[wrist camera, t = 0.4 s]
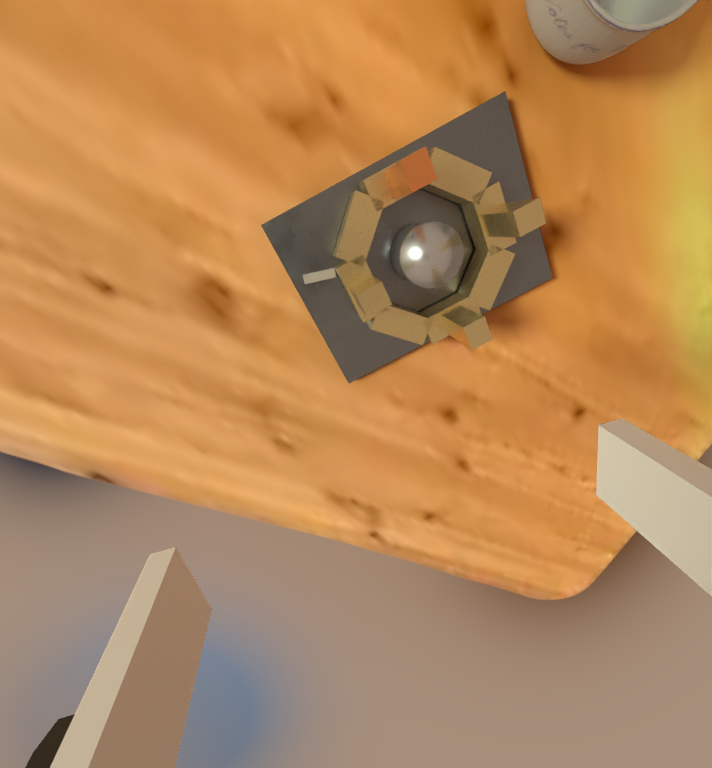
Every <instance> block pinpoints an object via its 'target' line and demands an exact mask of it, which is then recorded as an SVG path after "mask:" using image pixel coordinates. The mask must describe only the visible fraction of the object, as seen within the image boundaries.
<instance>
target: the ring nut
mask: <svg viewBox="0 0 712 768" xmlns="http://www.w3.org/2000/svg"><path fill="white" fill-rule="evenodd" d="M491 174H492V172H490V171H487V170H485V169H483V168H481V167H479V166H476V165H474V164H472V163H470V162H468V161H465V160H463V159H461V158H459V157H457V156H454V155H452V154H450V153H448V152H446V151H443V150H441V149H439V148H437V147H434V148H432V149H431V150H429V151H427V148H426V146H425V147H423V148H421V149H419V150H417V151H416V152H414V153H412V154H410V155H408V156H406V157H405V158H403V159H401V160H399V161H397V162H395V163H394V164H392V165H390V166H388V167H386V168H384V169H383V170H381V171H379V172H377V173H375V174H374V175H372V176H370V177H368V178H366V179H364V180H363V181H362V182H360V183H359V184H358V185H359V187H360V189H361V192H362V193H361V192H359V191H356V190H355V191H354V192H352V193H351V196H350V199H349V202H348V206H347V209H346V212H345V216H344V219H343V223H342V226H341V229H340V233H339V236H338V239H337V243H336V246H335V250H334V253H333V256H335V257H337V258H340V259H343V260H344V261H342V262H341V263H339V264H337V265H335V266H334V268H335V270H336V272H337V274H338V276H339V278H340V280H341V282H342V284H343V286H344V288H345V290H346V292H347V294H348V296H349V298H350V300H351V302H352V304H353V306H354V308H355V310H356V312H357V314H358V316H359V318H360V319H361V320H362V322H363V323H364V322H366V321H367V322H366V324H367V325H368V326H369V328H370V329H371V330H374V331H378V332H381V333H384V334H387V335H391V336H394V337H397V338H401V339H404V340H407V341H410V342H414V343H417V344H420V345H423V344H424V341H425V339H427V340H428V341H429V342H430V343H432V344H434V343H436V342H438V341H440V340H442V339H444V338H446V337H447V336H449V335H450V336H451V337H453V338H454V339H456V340H457V341H459V342H460V343H462V344H463V345H465V346H466V347H468V348H469V349H471V350H473V349H475V348H477V347H479V346H480V345H482V344H484V343H486V342H488V341H490V340H492V336H491V333H490V330H489V327H488V324H487V321H486V318H485V316H483V315H482V314H481V311H480V309H479V307H481V308H484V309H487V310H491V307H492V305H493V303H494V301H495V298H496V296H497V294H498V292H499V289H500V287H501V285H502V283H503V281H504V278H505V276H506V274H507V272H508V269H509V267H510V265H511V263H512V260H513V258H514V256H515V253H512V252H510V251H507V250H505V248H507V247H509V246H511V245H513V244H515V243H517V242H516V239H515V237H521V236H523V235H525V234H527V233H529V232H531V231H533V230H535V229H537V228H538V227H540V226H542V225H544V224H546V220H545V216H544V212H543V208H542V204H541V200H540V197H539V198H533V199H526V200H519V201H513V202H506V203H505V200H504V196H503V193H502V189H501V186H500V182H495V183H491V184H488V182H489V179H490V177H491ZM420 188H422V189H424V190H426V191H429V192H431V193H434V194H436V195H438V196H441V197H443V198H446V199H448V200H450V201H453V202H455V203H458V204H460V205H461V206H462V210H463V213H464V216H465V219H466V222H467V225H468V228H469V231H470V234H471V237H472V240H473V243H474V246H475V249H476V250H475V252H474V254H473V257H472V259H471V262H470V264H469V267H468V269H467V271H466V274H465V276H464V279H463V281H462V283H461V286H460V288H459V291H458V293H456V294H454V295H452V296H450V297H448V298H446V299H444V300H442V301H441V302H439V303H437V304H435V305H433V306H431V307H429V308H427V309H425V310H423V311H421V312H416V311H413V310H410V309H407V308H404V307H401V306H398V305H395V304H392V303H391V301H390V298H389V296H388V294H387V292H386V289H385V287H384V285H383V283H382V281H381V280H379V279H377V278H375V277H374V276H373V275H372V273H371V271H370V269H369V266H368V264H367V262H366V258H367V255H368V252H369V249H370V246H371V243H372V240H373V237H374V233H375V230H376V227H377V224H378V221H379V218H380V215H381V212H382V209H383V208H385V207H387V206H389V205H390V204H392V203H394V202H396V201H398V200H400V199H402V198H403V197H405V196H407V195H409V194H411V193H413V192H415V191H416V190H418V189H420Z"/></svg>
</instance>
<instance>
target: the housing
mask: <svg viewBox="0 0 712 768" xmlns="http://www.w3.org/2000/svg"><path fill="white" fill-rule="evenodd" d="M425 146H426V148H427V151H429V150H431V149H432V148H434V147H437V148H439V149H441V150H443V151H446V152H448V153H450V154H452V155H454V156H457V157H459V158H461V159H463V160H465V161H468V162H470V163H472V164H474V165H476V166H479V167H481V168H483V169H485V170H487V171H490V172H492V174H491V177H490V179H489V182H488V184H491V183H495V182H500V186H501V189H502V193H503V196H504V200H505V203H506V202H513V201H519V200H526V199H532V195H531V191H530V187H529V183H528V179H527V175H526V171H525V167H524V163H523V159H522V155H521V152H520V148H519V144H518V140H517V136H516V132H515V128H514V124H513V120H512V116H511V112H510V108H509V104H508V100H507V96H506V92H503V93H501V94H499V95H498V96H496V97H494V98H492V99H490V100H488V101H487V102H485V103H483V104H481V105H479V106H477V107H476V108H474V109H472V110H470V111H468V112H467V113H465V114H463V115H461V116H459V117H457V118H456V119H454V120H452V121H450V122H448V123H447V124H445V125H443V126H441V127H439V128H437V129H436V130H434V131H432V132H430V133H428V134H426V135H425V136H423V137H421V138H419V139H417V140H416V141H414V142H412V143H410V144H408V145H406V146H405V147H403V148H401V149H399V150H397V151H396V152H394V153H392V154H390V155H388V156H386V157H385V158H383V159H381V160H379V161H377V162H375V163H374V164H372V165H370V166H368V167H366V168H365V169H363V170H361V171H359V172H357V173H355V174H354V175H352V176H350V177H348V178H346V179H344V180H343V181H341V182H339V183H337V184H335V185H334V186H332V187H330V188H328V189H326V190H324V191H323V192H321V193H319V194H317V195H315V196H314V197H312V198H310V199H308V200H306V201H304V202H303V203H301V204H299V205H297V206H295V207H293V208H292V209H290V210H288V211H286V212H284V213H283V214H281V215H279V216H277V217H275V218H273V219H272V220H270V221H268V222H266V223H264V224H263V225H261V226H262V228H263V229H264V231H265V233H266V235H267V237H268V238H269V240H270V242H271V244H272V246H273V247H274V249H275V251H276V253H277V255H278V256H279V258H280V260H281V262H282V264H283V266H284V267H285V269H286V271H287V273H288V275H289V276H290V278H291V280H292V282H293V284H294V285H295V287H296V289H297V291H298V293H299V294H300V296H301V298H302V300H303V302H304V303H305V305H306V307H307V309H308V311H309V312H310V314H311V316H312V318H313V320H314V322H315V323H316V325H317V327H318V329H319V331H320V332H321V334H322V336H323V338H324V340H325V341H326V343H327V345H328V347H329V349H330V350H331V352H332V354H333V356H334V358H335V359H336V361H337V363H338V365H339V367H340V369H341V370H342V372H343V374H344V376H345V378H346V379H347V381H348V383H351V382H352V381H354V380H356V379H358V378H360V377H362V376H364V375H366V374H368V373H370V372H372V371H374V370H376V369H378V368H379V367H381V366H383V365H385V364H387V363H389V362H391V361H393V360H395V359H397V358H399V357H401V356H403V355H405V354H406V353H408V352H410V351H412V350H414V349H416V348H418V347H420V346H422V345H420V344H417V343H414V342H410V341H407V340H404V339H401V338H397V337H394V336H391V335H387V334H384V333H381V332H378V331H374V330H371V329H370V328H369V326H368V325H367V324H366V322H367V321H366V322H364V323H363V322H362V320H361V319H360V318H359V316H358V314H357V312H356V310H355V308H354V306H353V304H352V302H351V300H350V298H349V296H348V294H347V292H346V290H345V288H344V286H343V284H342V282H341V280H340V278H339V276H338V274H337V272H336V270H335V268H334V266H335V265H337V264H339V263H341V262H342V261H344V260H343V259H340V258H337V257H335V256H333V253H334V250H335V246H336V243H337V239H338V236H339V233H340V229H341V226H342V223H343V219H344V216H345V212H346V209H347V206H348V202H349V199H350V196H351V193H352V192H354V191H355V190H356V191H359V192H361V189H360V187H359V185H358V184H359V183H360V182H362V181H363V180H364V179H366V178H368V177H370V176H372V175H374V174H375V173H377V172H379V171H381V170H383V169H384V168H386V167H388V166H390V165H392V164H394V163H395V162H397V161H399V160H401V159H403V158H405V157H406V156H408V155H410V154H412V153H414V152H416V151H417V150H419V149H421V148H423V147H425ZM361 193H362V192H361ZM515 239H516V242H517V243H515V244H513V245H511V246H509V247H507V248H505V250H507V251H510V252H512V253H515V256H514V258H513V260H512V263H511V265H510V267H509V269H508V272H507V274H506V276H505V278H504V281H503V283H502V285H501V287H500V289H499V292H498V294H497V296H496V298H495V301H494V303H493V305H492V307H491V309H493V308H495V307H497V306H499V305H501V304H503V303H505V302H507V301H509V300H511V299H513V298H515V297H517V296H518V295H520V294H522V293H524V292H526V291H528V290H530V289H532V288H534V287H536V286H538V285H540V284H542V283H544V282H546V281H547V280H549V279H551V278H552V274H551V270H550V266H549V262H548V258H547V254H546V250H545V246H544V242H543V239H542V235H541V231H540V227H538V228H537V229H535V230H533V231H531V232H529V233H527V234H525V235H523V236H521V237H515ZM475 250H476V249H475V246H474V243H473V240H472V237H471V234H470V231H469V228H468V225H467V222H466V219H465V216H464V213H463V210H462V206H461V205H460V204H458V203H455V202H453V201H450V200H448V199H446V198H443V197H441V196H438V195H436V194H434V193H431V192H429V191H426V190H424V189H422V188H420V189H418V190H416V191H415V192H413V193H411V194H409V195H407V196H405V197H403V198H402V199H400V200H398V201H396V202H394V203H392V204H390V205H389V206H387V207H385V208H383V209H382V212H381V215H380V218H379V221H378V224H377V227H376V230H375V233H374V237H373V240H372V243H371V246H370V249H369V252H368V255H367V258H366V262H367V264H368V266H369V269H370V271H371V273H372V275H373V276H374V277H375V278H377V279H379V280H381V281H382V283H383V285H384V287H385V289H386V292H387V294H388V296H389V298H390V301H391V303H392V304H395V305H398V306H401V307H404V308H407V309H410V310H413V311H416V312H421V311H423V310H425V309H427V308H429V307H431V306H433V305H435V304H437V303H439V302H441V301H442V300H444V299H446V298H448V297H450V296H452V295H454V294H456V293H458V291H459V288H460V286H461V283H462V281H463V279H464V276H465V274H466V271H467V269H468V267H469V264H470V262H471V259H472V257H473V254H474V252H475ZM479 309H480V311H481V314H484V313H486V312H488V311H490V310H487V309H484V308H481V307H479ZM428 342H429V341H428V340H427V339H425V341H424V344H426V343H428ZM424 344H423V345H424Z"/></svg>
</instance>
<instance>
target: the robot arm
mask: <svg viewBox="0 0 712 768" xmlns="http://www.w3.org/2000/svg"><path fill="white" fill-rule="evenodd" d="M596 495H597V496H598V497H599V498H600V499H601V500H603V501H604V502H605V503H606V504H607V505H608V506H609V507H611V508H612V509H613V510H614V511H615V512H616V513H617V514H618V515H620V516H621V517H622V518H623V519H624V520H625V521H626V522H628V523H629V524H630V525H631V526H632V527H633V528H634V529H636V530H637V531H638V532H639V533H640V534H641V535H643V536H644V537H645V538H646V539H647V540H648V541H649V542H650V543H652V544H653V545H654V546H655V547H656V548H657V549H659V550H660V551H661V552H662V553H663V554H664V555H665V556H666V557H668V558H669V559H670V560H671V561H672V562H673V563H674V564H675V565H677V566H678V567H679V568H680V569H681V570H682V571H683V572H685V573H686V574H687V575H688V576H689V577H690V578H691V579H693V580H694V581H695V582H696V583H697V584H698V585H699V586H701V587H702V588H703V589H704V590H705V591H706V592H707V593H708V594H710V595H711V596H712V469H710V468H708V467H706V466H705V465H703V464H701V463H699V462H698V461H696V460H694V459H692V458H691V457H689V456H687V455H685V454H684V453H682V452H680V451H678V450H677V449H675V448H673V447H671V446H670V445H668V444H666V443H664V442H663V441H661V440H659V439H657V438H656V437H654V436H652V435H650V434H649V433H647V432H645V431H643V430H642V429H640V428H638V427H636V426H635V425H633V424H631V423H629V422H627V421H626V420H624V419H618V420H615V421H611V422H608V423H604V424H601V425H599V426H598V459H597V492H596ZM211 610H212V608H211V607H210V605H209V603H208V602H207V600H206V598H205V596H204V595H203V593H202V591H201V590H200V588H199V586H198V584H197V583H196V581H195V579H194V578H193V576H192V574H191V572H190V571H189V569H188V567H187V566H186V564H185V562H184V560H183V559H182V557H181V555H180V554H179V552H178V550H177V549H176V547H174V548H170V549H167V550H164V551H160V552H156V553H153V554H150V555H149V557H148V559H147V561H146V564H145V566H144V568H143V570H142V572H141V574H140V576H139V578H138V581H137V583H136V585H135V587H134V589H133V591H132V594H131V596H130V598H129V600H128V602H127V604H126V606H125V608H124V611H123V613H122V615H121V617H120V619H119V621H118V623H117V625H116V628H115V630H114V632H113V634H112V636H111V638H110V640H109V643H108V645H107V647H106V649H105V651H104V653H103V655H102V658H101V660H100V662H99V664H98V666H97V668H96V670H95V672H94V675H93V677H92V679H91V681H90V683H89V685H88V688H87V689H86V692H85V694H84V696H83V698H82V700H81V703H80V705H79V707H78V709H77V711H76V713H75V714H74V715H71V716H67V717H65V718H61V719H58V721H57V722H56V723H55V724H54V726H53V727H52V728H51V730H50V731H49V732H48V734H47V735H46V737H45V738H44V739H43V740H42V742H41V743H40V744H39V746H38V747H37V749H36V750H35V751H34V752H33V754H32V756H31V758H30V760H29V762H28V764H27V766H26V768H175V764H176V760H177V755H178V751H179V747H180V742H181V738H182V734H183V729H184V725H185V721H186V717H187V713H188V708H189V704H190V700H191V696H192V691H193V687H194V683H195V679H196V674H197V670H198V665H199V661H200V657H201V653H202V649H203V644H204V640H205V636H206V632H207V627H208V623H209V619H210V614H211Z"/></svg>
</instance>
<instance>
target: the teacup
mask: <svg viewBox="0 0 712 768" xmlns="http://www.w3.org/2000/svg"><path fill="white" fill-rule="evenodd" d="M697 1H698V0H525V4H526V11H527V15H528V19H529V23H530V26H531V28H532V31H533V33H534V35H535V37H536V39H537V40H538V42H539V43H540V45H541V46H542V47H543V48H544V49H545V50H546V51H547V52H548V53H549V54H550V55H552V56H553V57H555V58H556V59H558V60H560V61H563V62H566V63H570V64H579V65H581V64H590V63H595V62H598V61H601V60H604V59H606V58H609V57H611V56H613V55H615V54H617V53H619V52H621V51H622V50H624V49H626V48H628V47H629V46H631V45H633V44H634V43H636V42H638V41H639V40H641V39H643V38H644V37H646V36H647V35H649V34H650V33H652V32H653V31H655V30H656V29H658V28H661V27H663V26H665V25H667V24H669V23H671V22H673V21H675V20H676V19H678V18H679V17H681V16H682V15H683V14H684V13H685V12H686V11H687V10H689V9H690V8H691V7H692V6H693V5H694V4H695V3H696V2H697Z"/></svg>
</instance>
